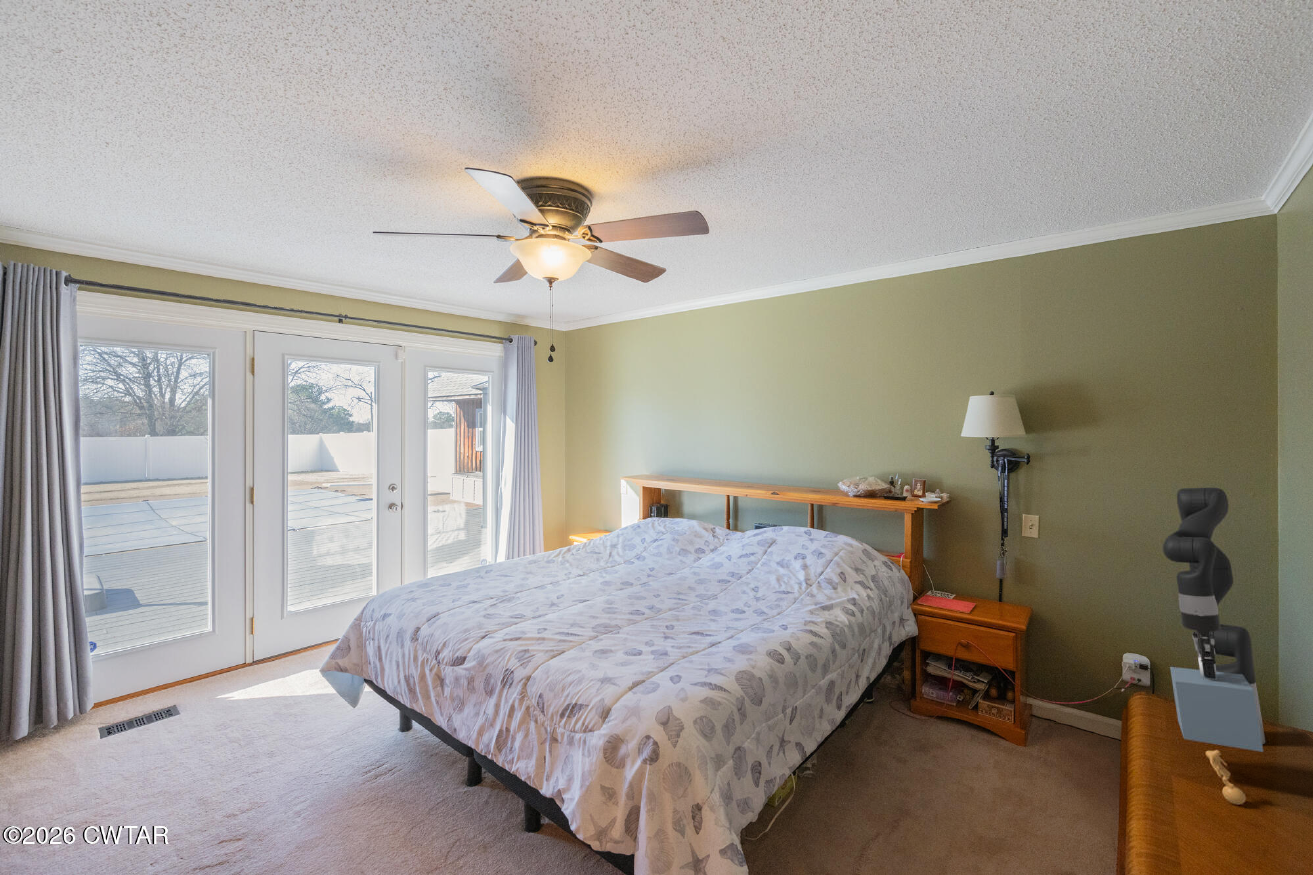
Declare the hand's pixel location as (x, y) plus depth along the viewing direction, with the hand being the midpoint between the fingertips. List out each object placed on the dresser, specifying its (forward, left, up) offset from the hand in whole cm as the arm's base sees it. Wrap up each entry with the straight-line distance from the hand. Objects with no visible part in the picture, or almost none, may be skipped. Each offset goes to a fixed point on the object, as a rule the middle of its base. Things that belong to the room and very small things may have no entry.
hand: (1208, 675), depth 150 cm
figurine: (+14, -1, -27) cm, 30 cm away
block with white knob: (0, 0, -16) cm, 16 cm away
